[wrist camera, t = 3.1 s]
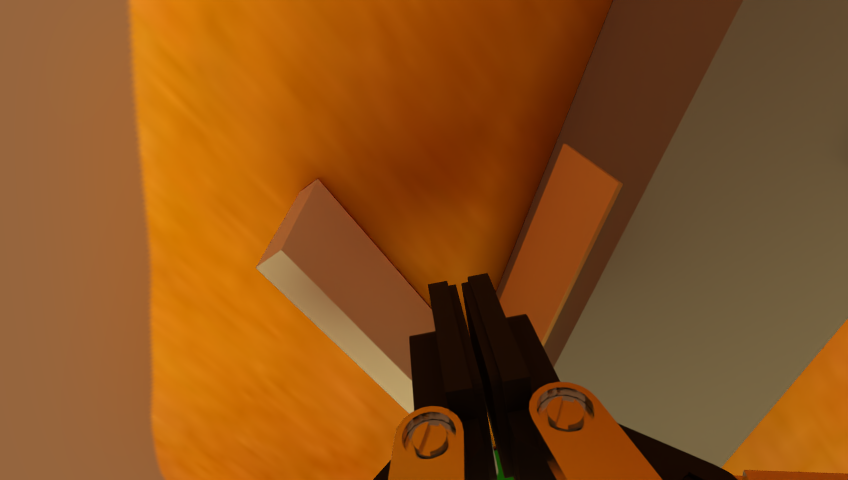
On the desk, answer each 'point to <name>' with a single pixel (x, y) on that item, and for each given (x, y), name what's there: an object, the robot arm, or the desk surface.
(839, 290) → the camera box
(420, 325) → the side door
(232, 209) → the desk surface
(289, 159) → the desk surface
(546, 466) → the robot arm
